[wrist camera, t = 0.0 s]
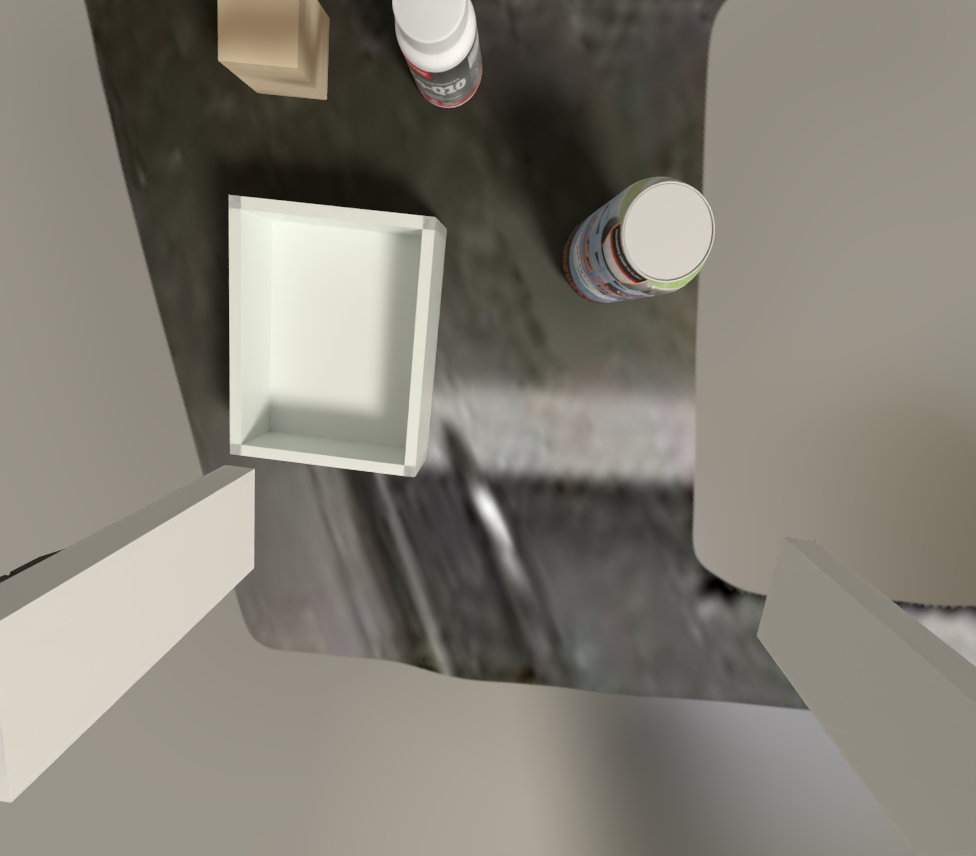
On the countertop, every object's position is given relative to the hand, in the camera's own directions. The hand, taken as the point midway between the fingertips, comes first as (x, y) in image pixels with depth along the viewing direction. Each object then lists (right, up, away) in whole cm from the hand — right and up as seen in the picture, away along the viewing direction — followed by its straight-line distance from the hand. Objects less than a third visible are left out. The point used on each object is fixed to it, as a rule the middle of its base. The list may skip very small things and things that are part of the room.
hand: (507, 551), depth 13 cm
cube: (-14, +29, +23) cm, 40 cm away
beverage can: (+8, +15, +25) cm, 31 cm away
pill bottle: (-3, +28, +23) cm, 36 cm away
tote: (-11, +10, +27) cm, 31 cm away
